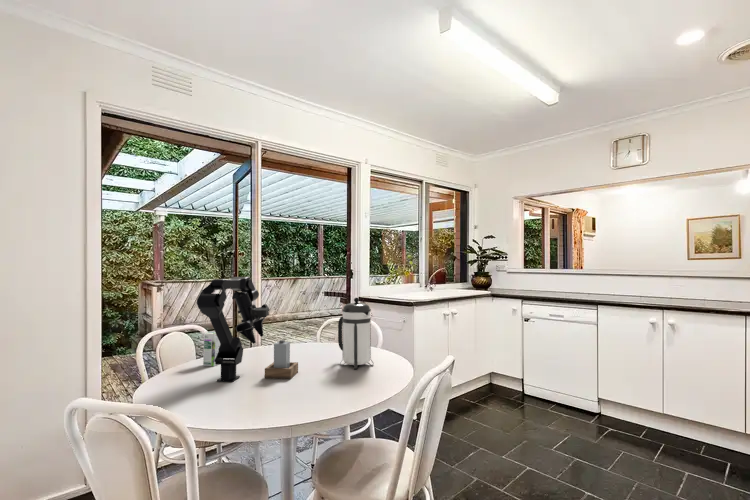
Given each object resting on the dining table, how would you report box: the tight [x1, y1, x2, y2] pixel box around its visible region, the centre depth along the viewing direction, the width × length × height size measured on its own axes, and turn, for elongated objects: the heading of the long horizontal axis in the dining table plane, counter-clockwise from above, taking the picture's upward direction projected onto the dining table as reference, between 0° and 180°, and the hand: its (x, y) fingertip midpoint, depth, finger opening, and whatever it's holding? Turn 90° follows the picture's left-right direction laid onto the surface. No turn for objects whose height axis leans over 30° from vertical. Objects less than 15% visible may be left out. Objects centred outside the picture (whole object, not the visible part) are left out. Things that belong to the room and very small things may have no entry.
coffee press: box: [337, 297, 375, 371], centre depth 172 cm, size 17×16×30 cm
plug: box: [273, 339, 291, 368], centre depth 156 cm, size 5×5×13 cm
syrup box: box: [202, 331, 220, 367], centre depth 174 cm, size 6×6×14 cm
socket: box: [264, 361, 299, 380], centre depth 156 cm, size 10×10×4 cm
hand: (258, 339), depth 164 cm, fingers open, 9 cm apart
